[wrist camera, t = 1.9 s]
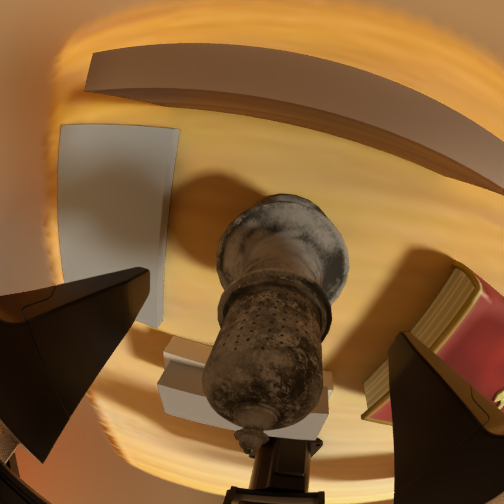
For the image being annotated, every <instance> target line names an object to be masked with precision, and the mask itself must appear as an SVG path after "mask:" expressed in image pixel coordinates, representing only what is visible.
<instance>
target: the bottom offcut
mask: <svg viewBox="0 0 504 504" xmlns="http://www.w3.org/2000/svg"><path fill="white" fill-rule="evenodd" d="M212 348H213V347H212V346H208V345H204V344H201V343H197V342H194V341H190V340H187V339H184V338H180V337H177V336H174V335H173V337H172V338H171V340H170V342H169V343H168V345H167V346H166V348H165V349H164V351H163V355H164V370H165V369H166V367H167V366H168V364H169V362H170V361H173V362H177V363H181V364H185V365H189V366H193V367H198V368H202V369H204V368H205V365H206V362H207V359H208V357H209V355H210V353H211V350H212ZM323 386H326V387H328V399H329V397H330V395H331V393H332V392H333V378H332V371H326V370H323Z"/></svg>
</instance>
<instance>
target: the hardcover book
mask: <svg viewBox="0 0 504 504" xmlns="http://www.w3.org/2000/svg"><path fill="white" fill-rule="evenodd" d="M452 266H454V267H455V269H454V271H453V273H452V274H451V276H450V277H449V279H448V280H447V282H446V283H445V285H444V286H443V288H442V289H441V291H440V292H439V294H438V295H437V297H436V298H435V299H434V301H433V302H432V304H431V305H430V306H429V308H428V309H427V310H426V312H425V313H424V314H423V316H422V317H421V318H420V320H419V321H418V322H417V324H416V325H415V326H414V327H413V329H412V330H411V331H410V332H409V333H411V334H412V335H414V336H415V337H416V338H417V339H418V340H420V341H421V342H422V343H423V344H424V345H425V346H427V347H428V348H429V349H430V350H431V351H433V352H434V353H435V354H436V355H437V356H438V357H440V358H441V359H442V360H443V361H444V362H445V363H447V364H448V365H449V366H450V367H451V368H452V369H454V370H455V371H456V372H457V373H458V374H459V375H460V376H462V377H463V378H464V379H465V380H466V381H467V382H468V383H469V384H470V385H472V386H473V387H474V388H475V389H476V390H477V391H478V392H480V393H481V394H482V395H483V396H484V397H485V398H486V399H488V400H489V401H490V402H491V403H492V404H494V405H495V406H496V407H497V408H499V409H500V410H501V411H502V412H504V297H503V296H502V295H501V294H500V293H498V292H497V291H496V290H495V289H494V288H493V287H491V286H490V285H489V284H488V283H486V282H485V281H484V280H483V279H482V278H480V277H479V276H478V275H477V274H475V273H474V272H473V271H471V270H470V269H469V268H468V267H466V266H465V265H463V264H462V263H460V262H458V261H456V260H455V261H454V263H453V265H452ZM363 384H364V389H365V395H366V401H367V407H368V410H367V411H365V412H364V413H363V414H362V415H361V419H362V420H366V421H371V422H376V423H381V424H386V425H391V426H393V424H392V412H391V402H390V393H389V367H388V358H387V359H386V360H385V361H384V362H383V363H382V364H381V365H380V366H379V368H378V369H377V370H376V371H375V372H374V373H373V374H372V375H371V376H370V377H369V378H368V379H367V380H366V381H365V382H364V383H363Z"/></svg>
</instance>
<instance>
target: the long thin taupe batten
mask: <svg viewBox="0 0 504 504" xmlns="http://www.w3.org/2000/svg"><path fill="white" fill-rule="evenodd" d="M84 91H85V92H93V93H100V94H106V95H112V96H118V97H124V98H129V99H134V100H139V101H144V102H149V103H154V104H158V105H162V106H166V107H176V108H189V109H199V110H209V111H217V112H225V113H232V114H239V115H245V116H251V117H257V118H262V119H268V120H273V121H278V122H282V123H287V124H292V125H296V126H300V127H305V128H309V129H313V130H317V131H320V132H324V133H328V134H331V135H335V136H338V137H342V138H345V139H349V140H352V141H355V142H358V143H361V144H364V145H367V146H370V147H373V148H376V149H379V150H382V151H385V152H388V153H390V154H393V155H396V156H398V157H401V158H403V159H406V160H408V161H411V162H413V163H416V164H418V165H421V166H423V167H425V168H428V169H430V170H432V171H434V172H437V173H439V174H441V175H443V176H446V177H449V178H453V179H456V180H460V181H463V182H466V183H469V184H473V185H476V186H479V187H482V188H485V189H488V190H490V191H493V192H496V193H499V194H502V195H504V142H503V141H502V140H500V139H499V138H497V137H496V136H495V135H493V134H492V133H490V132H489V131H487V130H486V129H484V128H483V127H481V126H480V125H478V124H477V123H475V122H473V121H472V120H470V119H469V118H467V117H465V116H464V115H462V114H460V113H458V112H457V111H455V110H453V109H451V108H449V107H448V106H446V105H444V104H442V103H440V102H438V101H436V100H434V99H432V98H430V97H428V96H426V95H424V94H422V93H420V92H417V91H415V90H413V89H411V88H408V87H406V86H404V85H401V84H399V83H396V82H394V81H391V80H389V79H386V78H383V77H381V76H378V75H375V74H372V73H369V72H366V71H363V70H360V69H357V68H354V67H351V66H347V65H344V64H340V63H337V62H333V61H329V60H325V59H321V58H317V57H313V56H308V55H303V54H298V53H293V52H288V51H282V50H275V49H268V48H261V47H252V46H242V45H230V44H209V43H178V44H158V45H145V46H136V47H127V48H120V49H114V50H107V51H102V52H97V53H93V56H92V60H91V63H90V67H89V72H88V76H87V80H86V85H85V90H84Z"/></svg>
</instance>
